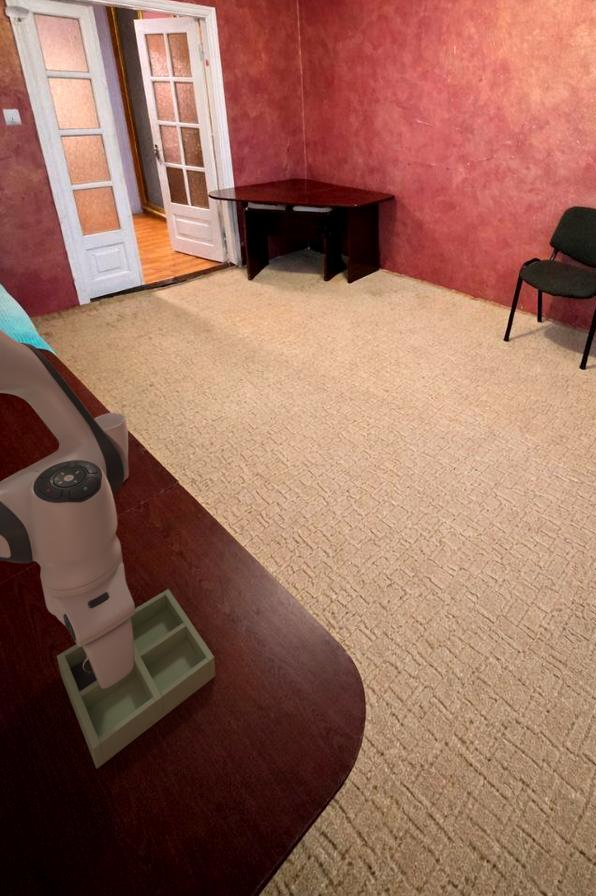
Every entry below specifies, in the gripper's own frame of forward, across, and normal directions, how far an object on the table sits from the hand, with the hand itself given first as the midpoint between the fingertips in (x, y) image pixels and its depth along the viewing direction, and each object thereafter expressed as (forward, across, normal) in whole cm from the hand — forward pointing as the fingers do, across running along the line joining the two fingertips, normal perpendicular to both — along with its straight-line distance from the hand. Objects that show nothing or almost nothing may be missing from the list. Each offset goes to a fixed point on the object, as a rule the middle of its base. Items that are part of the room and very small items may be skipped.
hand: (97, 653), depth 68 cm
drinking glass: (+5, -42, +16) cm, 45 cm away
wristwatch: (+2, 0, 0) cm, 2 cm away
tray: (+4, +4, +4) cm, 7 cm away
